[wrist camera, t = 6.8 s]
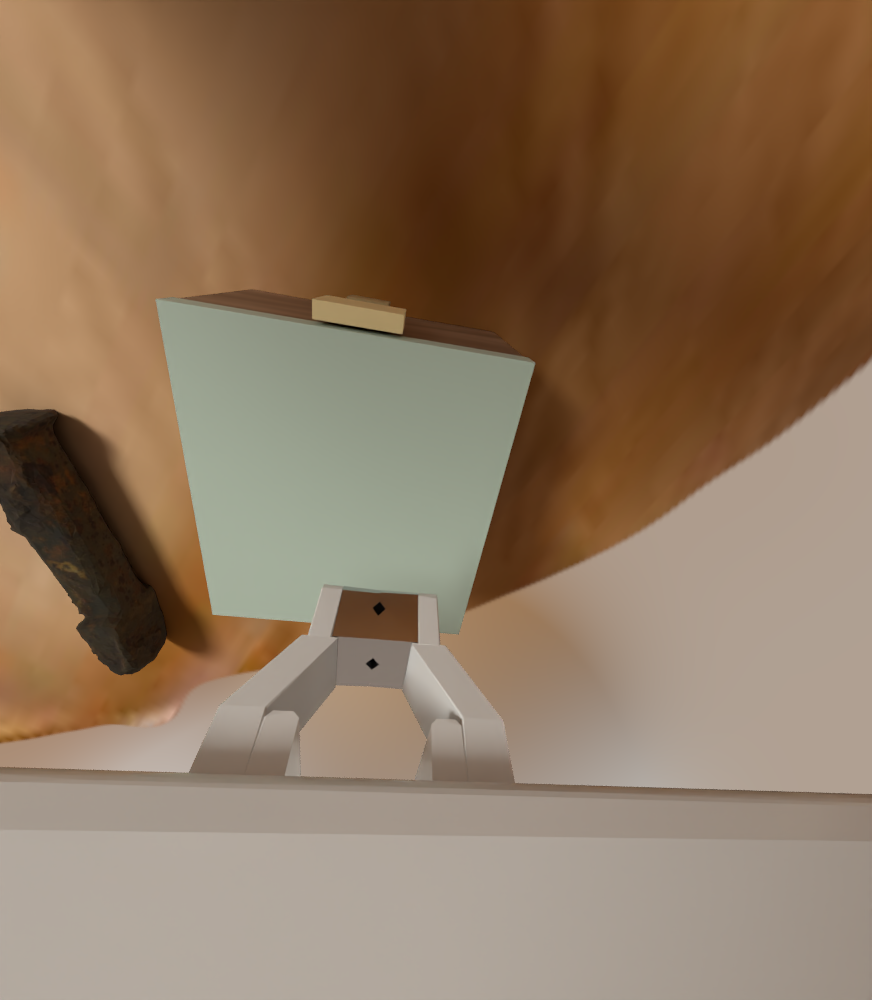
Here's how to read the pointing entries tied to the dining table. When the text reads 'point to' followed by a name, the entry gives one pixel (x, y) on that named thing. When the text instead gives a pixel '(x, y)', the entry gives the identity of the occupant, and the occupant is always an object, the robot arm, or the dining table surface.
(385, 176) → the dining table surface
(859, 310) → the dining table surface
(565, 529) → the dining table surface
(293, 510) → the lid
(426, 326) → the box
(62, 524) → the dark brown rough bar
